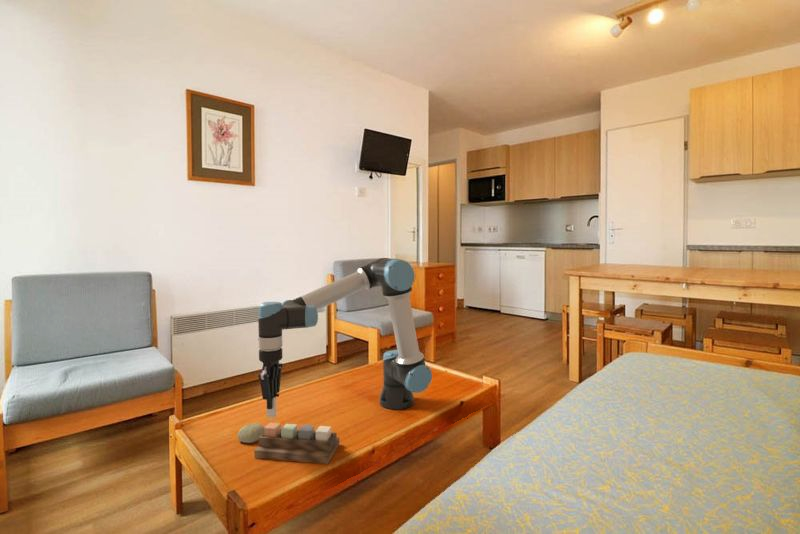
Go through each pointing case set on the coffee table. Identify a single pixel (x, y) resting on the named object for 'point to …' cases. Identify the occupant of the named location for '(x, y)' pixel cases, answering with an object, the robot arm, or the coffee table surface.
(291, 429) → the sage key
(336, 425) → the coffee table surface
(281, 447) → the brown stepped piece
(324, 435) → the ivory key
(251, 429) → the sea urchin shell
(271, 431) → the terracotta key
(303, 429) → the slate key
